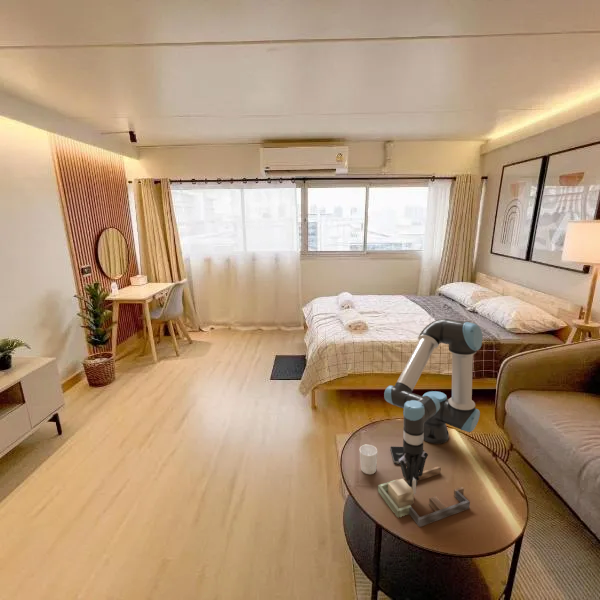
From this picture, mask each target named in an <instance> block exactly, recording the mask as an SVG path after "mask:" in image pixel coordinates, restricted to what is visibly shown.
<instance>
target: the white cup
mask: <svg viewBox="0 0 600 600" xmlns="http://www.w3.org/2000/svg"><path fill="white" fill-rule="evenodd" d="M359 460H360V461H359V462H360V469H361V472H363V474H365V475H373V474H374V473H376V471H377V465H378V464H377V462H378V449H377V447H376V446H374V445H373V444H363V445H360V447H359Z"/></svg>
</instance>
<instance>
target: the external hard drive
mask: <svg viewBox="0 0 600 600" xmlns="http://www.w3.org/2000/svg"><path fill="white" fill-rule="evenodd" d="M389 448H390V453H391V457H392V461H393V464H394V465H400V462H399V461H398V458H399V457H400V458H401V457H402V456H403V452H404V448H403V446H396V445H395V446H392V445H391V446H390V447H389ZM405 462H406V459H405ZM405 464H406V466H407V462H406V463H405Z"/></svg>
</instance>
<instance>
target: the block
mask: <svg viewBox="0 0 600 600" xmlns="http://www.w3.org/2000/svg"><path fill="white" fill-rule="evenodd" d="M399 479H400V478H399ZM395 480H396V479H395ZM392 481H393V480H392ZM389 482H390V481H389ZM387 494H388V495H389V497H390V498H391V499H392V501H393V502H394V503H395V504H396V506H397V507H398V508H402V507H405V506H408V505H411V506H412V505H413V504H414V495H415V494H414V491H413V489H412V488H411V487H410V486H409V485H408V484H407V483H406V482H405V480H404V479H400V480H396V481H393V482H390V483H388V491H387Z"/></svg>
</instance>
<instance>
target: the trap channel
mask: <svg viewBox="0 0 600 600" xmlns="http://www.w3.org/2000/svg"><path fill="white" fill-rule="evenodd" d="M441 468H442V467H441V466H440V465H437V466H435V467H431V468H429V469H425V470H423V473H422V476H419V478H420V479H419V480H417V482H418V481H422V480H425V479H428V478H432V477H434V476H436V475H441V473H442V472H441V470H442V469H441ZM400 479H404V480H405V482H406V483H407V480H406V479H405V478H404V477H403V476H402V477H400V478H397V479H393V480H391V481H388V482H384V483H381V484H378V485H377V492H378V494H379V495H380V496H381V497H382V499H383V501H384V502H385V503H386V505H387V506H388V507H389V508H390V510H391V511H392V512H393V514H394V513H395V514H394V515H395V516H396V518H397V517H398V518H397V519H400V518H402V516H403V517H405V515H406V516H407V515H409V516H410V517H411V518H412V520H413V521H414V522H415V523H416V525H417V526H418V527H419V528H421V527H424V526H427V525H429V524H432V523H434V522H437V521H440V520H443V519H445V518H447V517H450V516H453V515H456V514H458V513H461V512H463V511H467V510H469V509H470V507H471V506H470V505H471V504H470V503H471V501H470V500H469V499H467V497H466V496H464V495H465V494H464V492H465V488H464V487H463V486H460V487H457V488H454V489H453V497H454V498H455V499H456V500H457V501H458V503H455V504H452V505H450V506H446V505H445V504H444V503H443V502H442V501H441V500H440V499H439V498H438V496H437V495H434V496H431V497H429V498H428V500H429V501H428V506H430V507H431V509H432V510H433V512H431V513H426V514H425V515H422V516H420V515H419V514H418V513H417V512H416V510H415V509H414V508H413V507H412V504H411V505H408V506H405V507H402V508H398V507H397V506H396V504H395V503H394V502H393V501H392V499H391V498H390V497H389V495H388V483H390V482H393V481H396V480H400ZM399 517H400V518H399Z"/></svg>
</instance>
